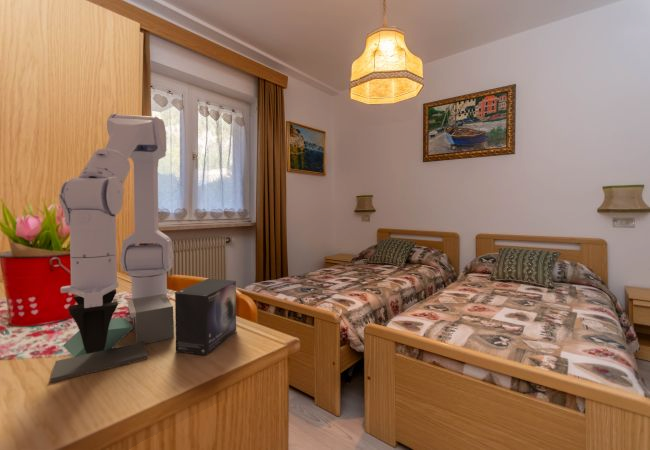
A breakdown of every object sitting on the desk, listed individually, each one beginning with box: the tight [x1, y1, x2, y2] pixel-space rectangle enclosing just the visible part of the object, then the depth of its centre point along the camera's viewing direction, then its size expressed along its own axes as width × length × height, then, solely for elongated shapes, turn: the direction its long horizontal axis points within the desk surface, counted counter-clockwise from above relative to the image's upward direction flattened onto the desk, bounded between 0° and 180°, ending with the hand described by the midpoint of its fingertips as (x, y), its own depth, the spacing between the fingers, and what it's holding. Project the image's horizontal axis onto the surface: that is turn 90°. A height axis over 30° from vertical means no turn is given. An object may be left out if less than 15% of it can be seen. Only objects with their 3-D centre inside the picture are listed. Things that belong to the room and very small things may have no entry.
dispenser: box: [126, 294, 175, 345], centre depth 61 cm, size 10×7×6 cm
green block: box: [62, 317, 134, 357], centre depth 50 cm, size 2×10×5 cm
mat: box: [49, 341, 148, 383], centre depth 50 cm, size 6×12×1 cm, turn 125°
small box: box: [174, 277, 237, 356], centre depth 57 cm, size 11×6×10 cm, turn 168°
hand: (96, 343), depth 48 cm, fingers open, 6 cm apart
